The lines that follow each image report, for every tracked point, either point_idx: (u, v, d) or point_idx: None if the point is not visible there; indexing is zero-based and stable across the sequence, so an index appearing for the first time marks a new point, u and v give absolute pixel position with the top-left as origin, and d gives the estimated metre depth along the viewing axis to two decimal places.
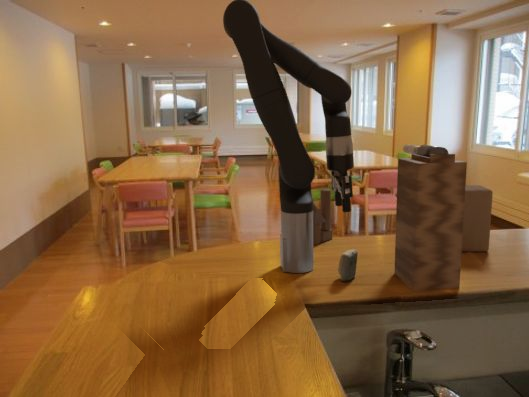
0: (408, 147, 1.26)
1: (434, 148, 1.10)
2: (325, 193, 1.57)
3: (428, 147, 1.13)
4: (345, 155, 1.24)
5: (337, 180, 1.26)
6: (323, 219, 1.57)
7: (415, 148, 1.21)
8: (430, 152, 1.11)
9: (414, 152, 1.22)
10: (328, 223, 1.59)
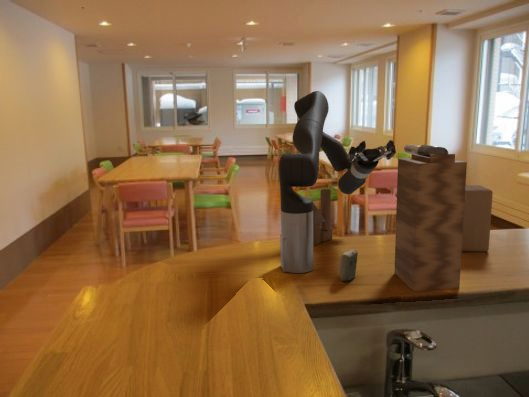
0: (409, 147, 1.26)
1: (434, 148, 1.10)
2: (325, 193, 1.57)
3: (429, 147, 1.13)
4: None
5: None
6: (323, 219, 1.57)
7: (416, 148, 1.21)
8: (430, 151, 1.11)
9: (415, 152, 1.22)
10: (328, 223, 1.59)
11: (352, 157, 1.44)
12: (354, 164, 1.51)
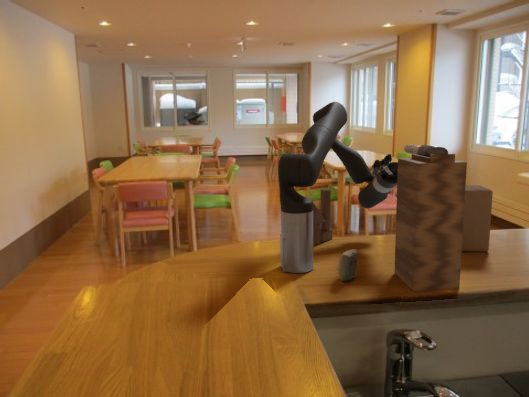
0: (409, 147, 1.26)
1: (434, 148, 1.10)
2: (325, 193, 1.57)
3: (429, 147, 1.13)
4: None
5: None
6: (323, 219, 1.57)
7: (416, 148, 1.21)
8: (430, 151, 1.11)
9: (415, 152, 1.22)
10: (328, 223, 1.59)
11: (376, 171, 1.37)
12: (377, 178, 1.45)
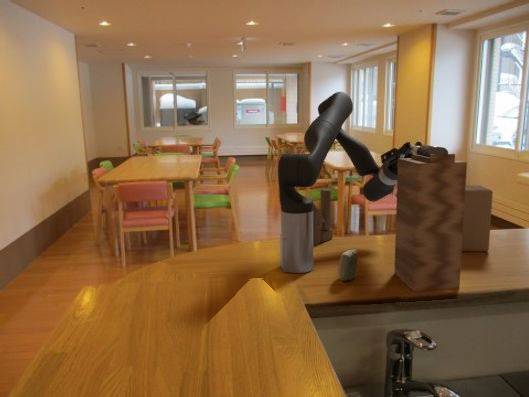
0: None
1: (434, 148, 1.10)
2: (325, 193, 1.57)
3: (428, 147, 1.13)
4: None
5: None
6: (323, 219, 1.57)
7: (415, 148, 1.21)
8: (430, 152, 1.11)
9: (414, 152, 1.22)
10: (328, 223, 1.59)
11: (389, 159, 1.30)
12: (384, 169, 1.39)
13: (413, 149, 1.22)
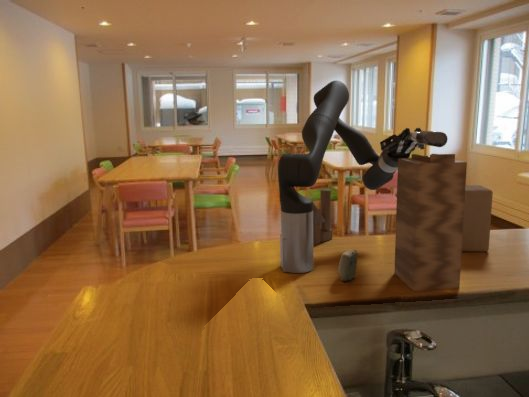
0: None
1: (433, 133, 1.10)
2: (325, 193, 1.57)
3: (427, 132, 1.14)
4: None
5: None
6: (323, 219, 1.57)
7: (414, 134, 1.21)
8: (429, 137, 1.11)
9: (413, 138, 1.22)
10: (328, 223, 1.59)
11: (389, 146, 1.30)
12: (383, 157, 1.39)
13: (412, 135, 1.22)
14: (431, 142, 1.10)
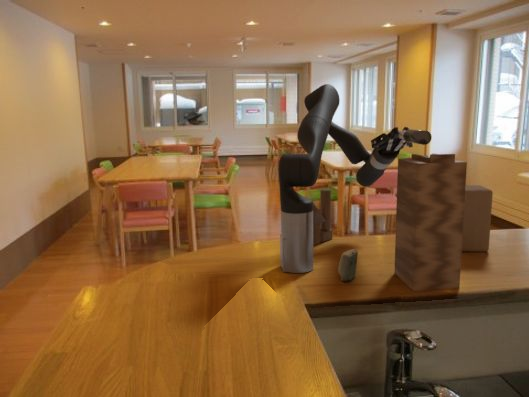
0: None
1: (418, 132, 1.19)
2: (325, 193, 1.57)
3: (413, 131, 1.22)
4: None
5: None
6: (323, 219, 1.57)
7: (402, 133, 1.30)
8: (415, 135, 1.19)
9: (401, 137, 1.31)
10: (328, 223, 1.59)
11: (379, 144, 1.39)
12: (374, 154, 1.47)
13: (400, 134, 1.31)
14: (416, 140, 1.18)
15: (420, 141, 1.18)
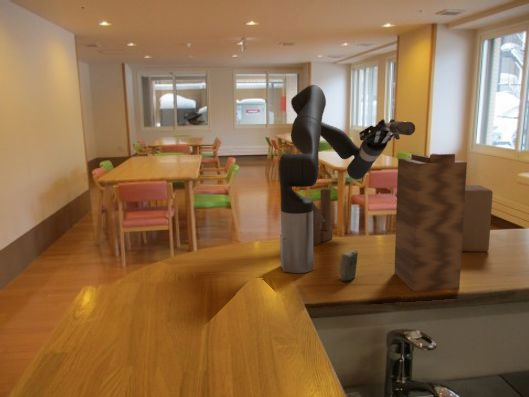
0: None
1: (402, 123, 1.24)
2: (325, 193, 1.57)
3: (398, 123, 1.27)
4: None
5: None
6: (323, 219, 1.57)
7: (388, 125, 1.35)
8: (399, 126, 1.25)
9: (387, 128, 1.36)
10: (328, 223, 1.59)
11: (367, 136, 1.44)
12: (363, 146, 1.52)
13: (387, 126, 1.36)
14: (401, 130, 1.24)
15: (404, 132, 1.23)
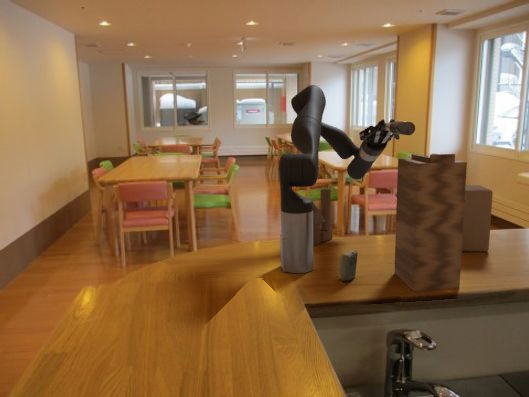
0: None
1: (402, 123, 1.24)
2: (325, 193, 1.57)
3: (398, 123, 1.27)
4: None
5: None
6: (323, 219, 1.57)
7: (388, 125, 1.35)
8: (399, 126, 1.25)
9: (387, 128, 1.36)
10: (328, 223, 1.59)
11: (367, 136, 1.44)
12: (363, 146, 1.52)
13: (387, 126, 1.36)
14: (401, 130, 1.24)
15: (404, 132, 1.23)
